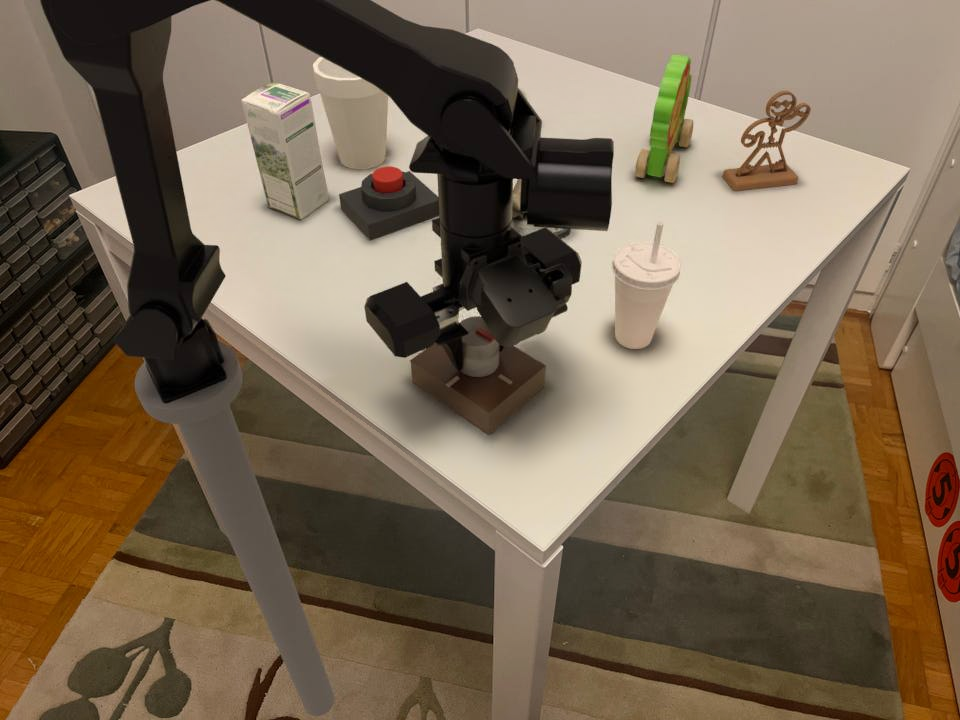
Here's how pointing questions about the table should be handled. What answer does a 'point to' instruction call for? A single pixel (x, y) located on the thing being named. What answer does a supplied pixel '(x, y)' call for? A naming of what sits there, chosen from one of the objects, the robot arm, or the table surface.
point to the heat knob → (479, 348)
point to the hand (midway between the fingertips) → (477, 358)
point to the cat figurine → (521, 218)
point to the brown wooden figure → (770, 173)
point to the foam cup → (353, 115)
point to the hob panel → (480, 385)
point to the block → (389, 206)
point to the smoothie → (642, 288)
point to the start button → (387, 179)
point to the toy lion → (668, 122)
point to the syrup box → (286, 148)
